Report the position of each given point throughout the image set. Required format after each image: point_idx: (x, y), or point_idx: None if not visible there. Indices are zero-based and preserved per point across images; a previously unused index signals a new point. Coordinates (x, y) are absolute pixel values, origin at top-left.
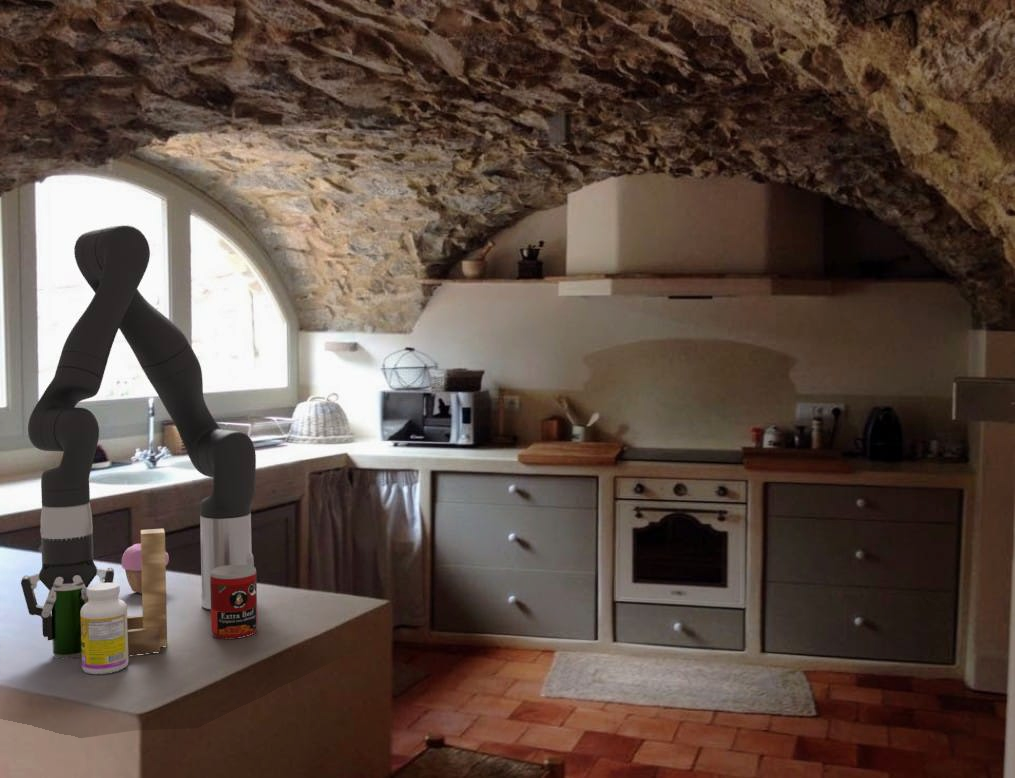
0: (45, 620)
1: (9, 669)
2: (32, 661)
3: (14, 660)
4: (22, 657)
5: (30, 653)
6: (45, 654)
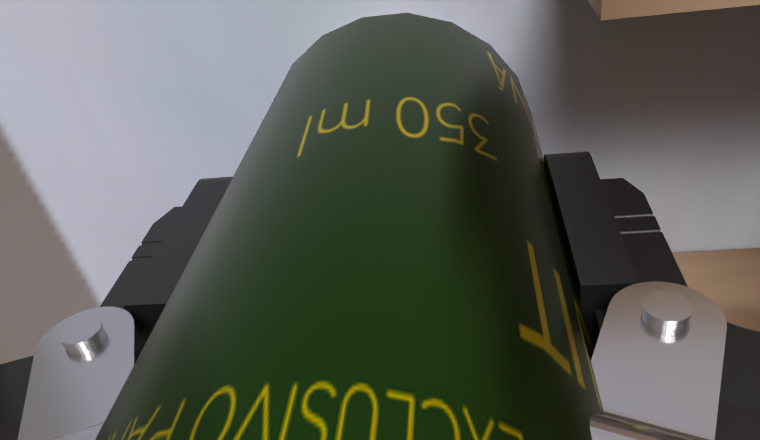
0: None
1: (101, 296)
2: (178, 201)
3: (48, 148)
4: (72, 98)
5: (88, 16)
6: (214, 75)
